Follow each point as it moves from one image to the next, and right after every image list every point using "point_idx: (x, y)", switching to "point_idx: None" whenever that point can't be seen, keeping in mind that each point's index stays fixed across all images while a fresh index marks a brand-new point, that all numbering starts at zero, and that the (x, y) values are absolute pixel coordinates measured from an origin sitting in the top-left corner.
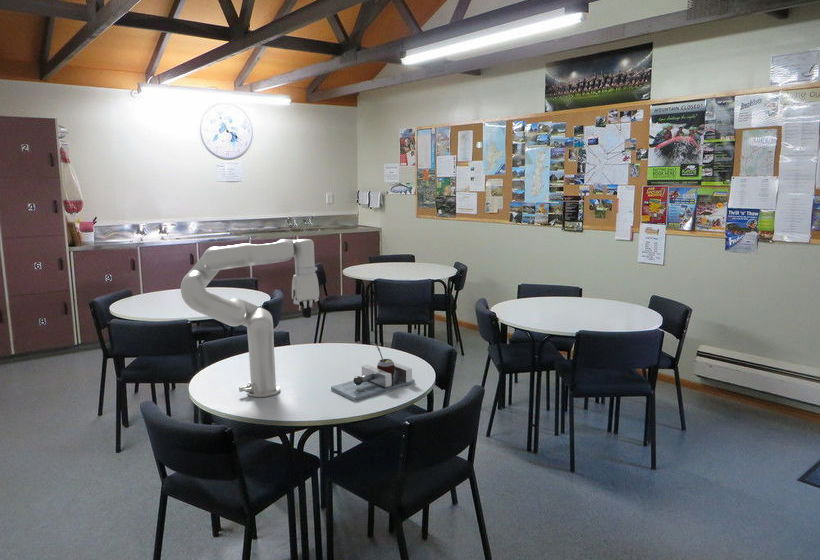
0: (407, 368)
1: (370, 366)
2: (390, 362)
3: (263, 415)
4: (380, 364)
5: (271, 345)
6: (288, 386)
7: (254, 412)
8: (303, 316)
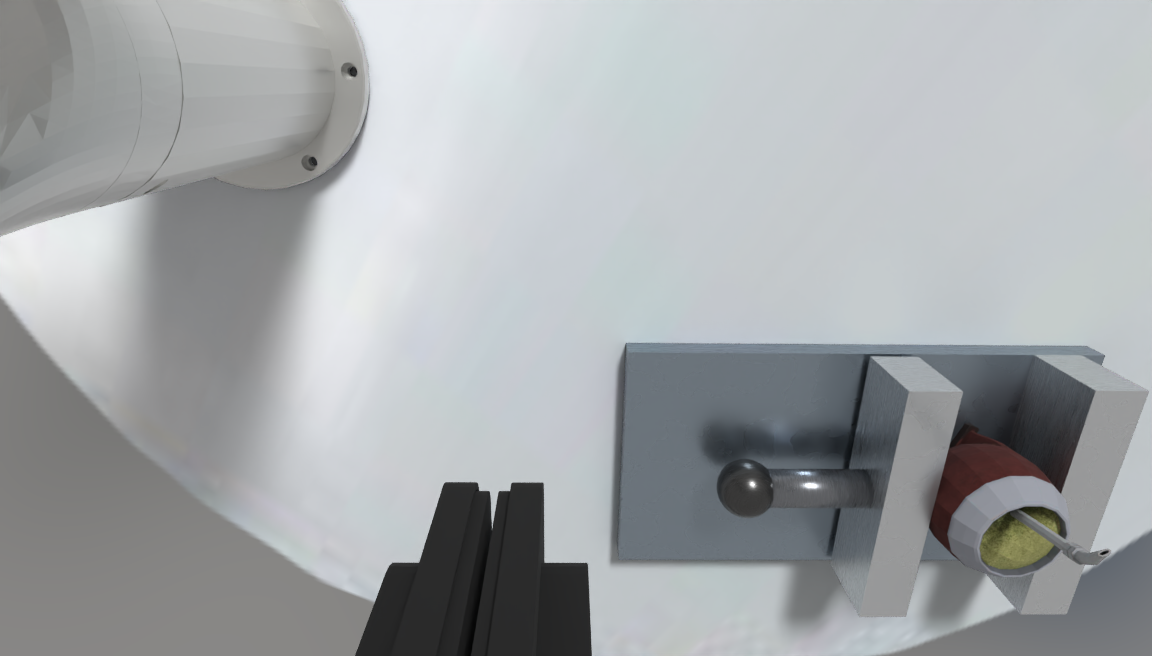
0: (1057, 595)
1: (941, 437)
2: (1015, 576)
3: (148, 416)
4: (957, 539)
5: (47, 216)
6: (446, 87)
7: (112, 351)
8: (446, 494)
